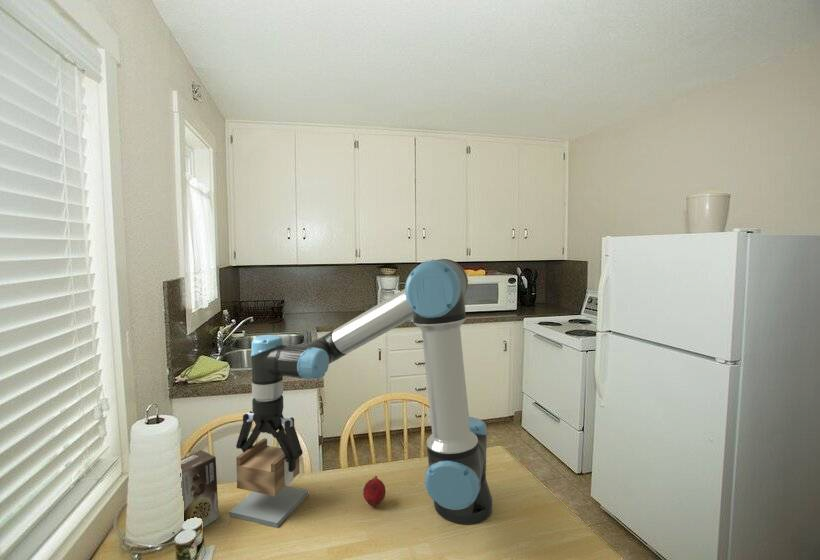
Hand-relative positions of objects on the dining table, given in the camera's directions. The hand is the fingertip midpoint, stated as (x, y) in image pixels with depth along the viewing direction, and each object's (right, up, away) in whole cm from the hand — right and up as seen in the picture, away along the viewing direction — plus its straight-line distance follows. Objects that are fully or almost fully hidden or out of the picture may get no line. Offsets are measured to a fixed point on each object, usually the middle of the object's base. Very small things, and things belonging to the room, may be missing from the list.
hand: (269, 478), depth 107 cm
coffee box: (-16, -8, -7) cm, 19 cm away
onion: (+27, -7, 0) cm, 28 cm away
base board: (0, -7, +1) cm, 7 cm away
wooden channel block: (0, 0, 0) cm, 0 cm away
